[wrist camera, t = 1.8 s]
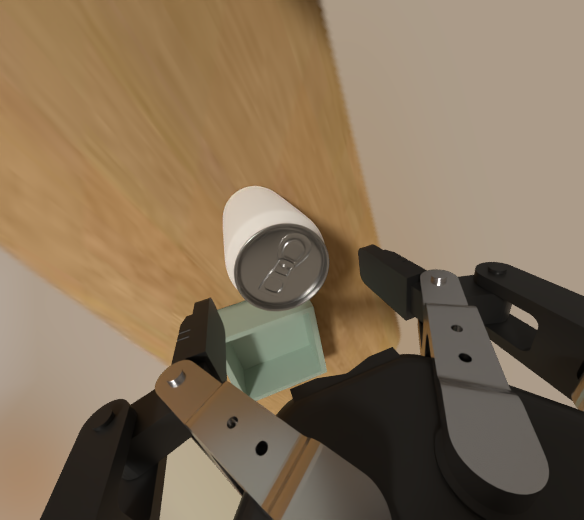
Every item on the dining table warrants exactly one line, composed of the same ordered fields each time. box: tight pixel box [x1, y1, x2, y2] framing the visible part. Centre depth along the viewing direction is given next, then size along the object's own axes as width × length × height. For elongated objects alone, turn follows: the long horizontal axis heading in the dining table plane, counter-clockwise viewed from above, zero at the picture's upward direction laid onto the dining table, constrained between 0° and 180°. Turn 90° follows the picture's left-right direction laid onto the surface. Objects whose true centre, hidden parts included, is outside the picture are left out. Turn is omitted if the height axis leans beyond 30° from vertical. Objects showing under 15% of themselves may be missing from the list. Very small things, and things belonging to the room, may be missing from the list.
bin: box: [217, 300, 327, 401], centre depth 28 cm, size 11×11×5 cm
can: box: [223, 186, 329, 311], centre depth 19 cm, size 6×6×12 cm
